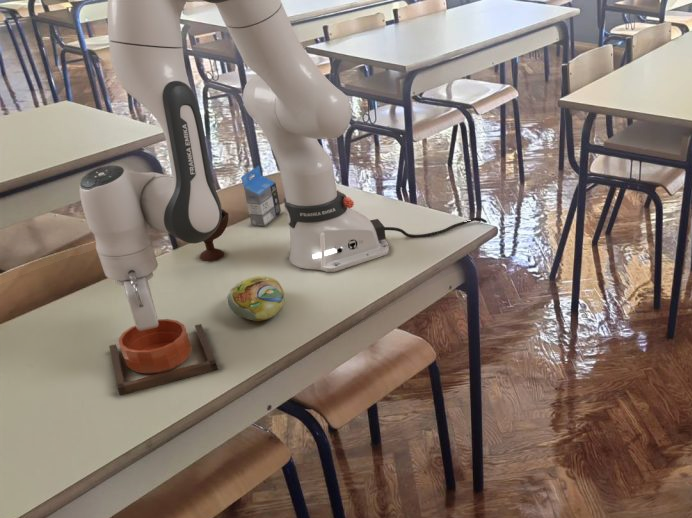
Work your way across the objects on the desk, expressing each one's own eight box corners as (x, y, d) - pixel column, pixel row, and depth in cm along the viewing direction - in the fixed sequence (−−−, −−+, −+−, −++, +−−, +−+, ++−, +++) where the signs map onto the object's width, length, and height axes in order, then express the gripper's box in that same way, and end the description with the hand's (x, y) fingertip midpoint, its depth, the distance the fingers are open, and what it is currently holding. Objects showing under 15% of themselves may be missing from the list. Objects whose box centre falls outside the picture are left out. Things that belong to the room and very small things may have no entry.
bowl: (186, 336, 145) (180, 313, 142) (197, 365, 137) (190, 341, 134) (124, 351, 141) (115, 328, 138) (130, 382, 133) (122, 358, 130)
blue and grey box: (265, 227, 187) (255, 178, 179) (250, 225, 187) (240, 177, 180) (282, 213, 194) (273, 166, 186) (268, 212, 194) (258, 164, 187)
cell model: (286, 277, 159) (284, 284, 145) (284, 314, 161) (281, 324, 147) (232, 272, 157) (224, 278, 142) (230, 309, 158) (222, 319, 144)
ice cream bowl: (223, 268, 168) (206, 204, 160) (177, 264, 170) (159, 200, 162) (245, 248, 177) (231, 186, 168) (202, 244, 179) (186, 183, 170)
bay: (203, 330, 147) (201, 323, 146) (218, 369, 136) (216, 362, 135) (111, 353, 141) (108, 345, 140) (119, 395, 130) (117, 388, 129)
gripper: (154, 281, 128) (175, 350, 136) (142, 236, 143) (161, 300, 151) (113, 289, 126) (137, 359, 134) (106, 242, 140) (127, 308, 148)
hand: (150, 327), depth 142 cm, fingers closed
